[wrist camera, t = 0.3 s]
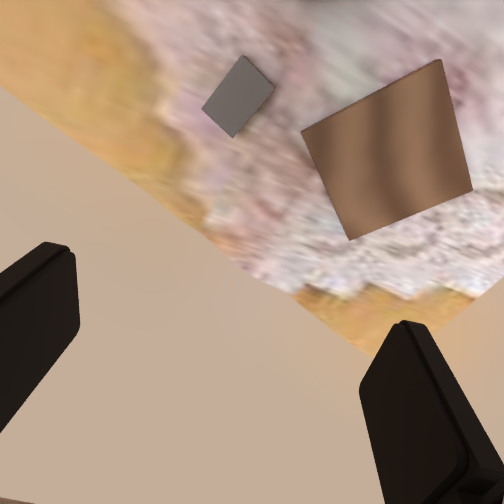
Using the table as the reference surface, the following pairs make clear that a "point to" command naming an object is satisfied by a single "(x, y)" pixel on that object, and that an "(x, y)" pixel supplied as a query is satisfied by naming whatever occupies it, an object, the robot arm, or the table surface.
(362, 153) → the walnut board
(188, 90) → the table surface
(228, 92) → the taupe block
